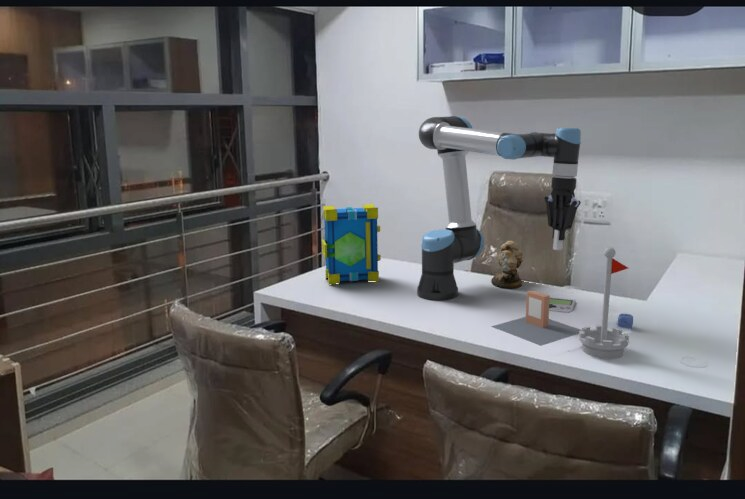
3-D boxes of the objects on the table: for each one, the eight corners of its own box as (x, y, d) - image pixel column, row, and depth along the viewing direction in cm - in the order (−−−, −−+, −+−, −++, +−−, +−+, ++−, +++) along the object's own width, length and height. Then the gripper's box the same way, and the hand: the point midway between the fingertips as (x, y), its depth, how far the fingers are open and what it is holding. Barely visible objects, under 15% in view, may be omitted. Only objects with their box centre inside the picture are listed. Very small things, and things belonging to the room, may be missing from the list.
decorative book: (322, 277, 257) (320, 205, 251) (377, 274, 261) (376, 203, 255) (326, 287, 244) (323, 211, 237) (384, 283, 248) (383, 208, 241)
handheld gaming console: (540, 308, 211) (546, 296, 225) (540, 312, 211) (546, 300, 225) (571, 311, 207) (575, 299, 221) (571, 316, 208) (575, 303, 221)
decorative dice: (630, 330, 192) (631, 318, 192) (617, 328, 194) (618, 316, 194) (632, 326, 196) (633, 314, 195) (619, 324, 198) (620, 312, 197)
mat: (490, 328, 196) (490, 326, 196) (534, 315, 207) (534, 314, 207) (540, 347, 180) (540, 345, 180) (585, 333, 191) (585, 331, 191)
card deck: (525, 321, 199) (526, 291, 197) (530, 320, 201) (532, 290, 199) (542, 328, 194) (544, 297, 192) (548, 326, 195) (549, 295, 193)
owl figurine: (489, 276, 255) (490, 235, 252) (518, 277, 254) (520, 236, 251) (493, 289, 238) (495, 245, 234) (525, 289, 237) (527, 245, 233)
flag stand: (572, 354, 175) (578, 249, 168) (585, 339, 185) (592, 240, 179) (621, 363, 168) (630, 255, 161) (632, 348, 178) (640, 245, 172)
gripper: (589, 178, 196) (581, 252, 201) (556, 174, 207) (549, 245, 211) (573, 179, 192) (565, 254, 197) (540, 175, 203) (534, 246, 207)
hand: (557, 249), depth 204 cm, fingers closed
